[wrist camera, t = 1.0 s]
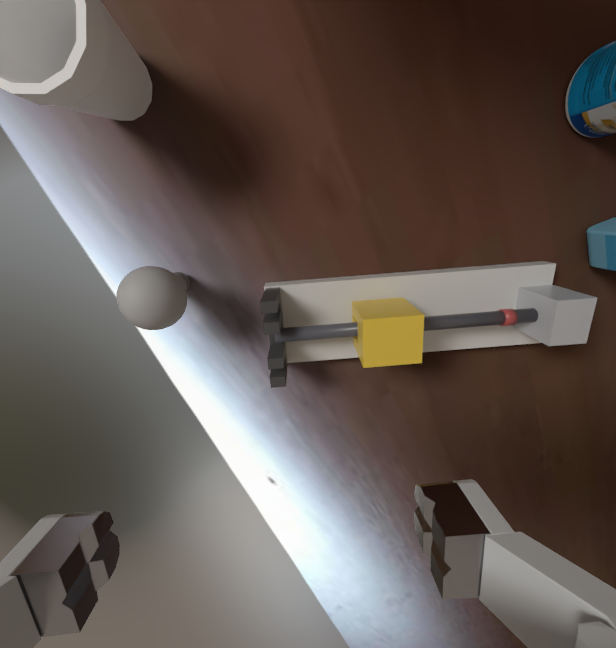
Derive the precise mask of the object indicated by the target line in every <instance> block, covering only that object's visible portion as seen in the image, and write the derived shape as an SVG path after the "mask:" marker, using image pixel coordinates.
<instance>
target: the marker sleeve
mask: <svg viewBox="0 0 616 648" xmlns="http://www.w3.org/2000/svg"><path fill="white" fill-rule="evenodd" d="M352 322H357V326H358V336H355V337H353V344H354V347H355V349H356V351H357V354H358V356H359V358H360V361H361V363H362V366H363V368H367V367H380V366H392V365H405V364H417V363H422V353H423V334H424V314H423V313H422V312H420V311H419V310H418V309H417V308H416V307H414V306H413V305H412V304H411V303H409V302H408V301H407V300H406V299H404V298H403V297H402V298H389V299H377V300H364V301H352Z"/></svg>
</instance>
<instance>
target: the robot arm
mask: <svg viewBox="0 0 616 648" xmlns="http://www.w3.org/2000/svg"><path fill="white" fill-rule="evenodd" d="M415 499H416V501H417V503H418V507H417V508H416V510H415V511H414V515H415V527H416V533H417V536H418V540H419V543H420V546H421V548H422V551H423V553H424V554H426V555H427V556H428V557H429V558H430V559H431V567H430V570H431V573H432V575H433V578H434V580H435V583H436V585H437V587H438V590H439V592H440V595H441V597H442V599H459V598H477V597H480V598H479V600H480V601H481V602H482V603H483V604H484V605H485V606H486V607H487V608H488V609H489V610H490V611H491V612H492V613H493V614H495V615H496V616H497V617H498V618H499V619H500V620H501V621H502V622H503V623H504V624H505V625H506V626H507V627H508V628H509V629H510V630H511V631H512V632H513V633H514V634H515V635H516V636H517V637H518V638H519V639H520V640H521V641H522V642H523V643H524V644H525V645H526V646H527V647H528V648H616V589H614V588H613V587H611V586H609V585H608V584H606V583H604V582H603V581H601V580H600V579H598V578H596V577H595V576H593V575H591V574H590V573H588V572H586V571H585V570H583V569H581V568H580V567H578V566H576V565H575V564H573V563H572V562H570V561H568V560H567V559H565V558H563V557H562V556H560V555H558V554H557V553H555V552H553V551H552V550H550V549H548V548H547V547H545V546H544V545H542V544H540V543H539V542H537V541H535V540H534V539H532V538H530V537H529V536H527V535H525V534H524V533H522V532H514V531H513V529H512V528H511V527H510V525H509V524H508V523H507V521H506V520H505V519H504V517H503V516H502V515H501V513H500V512H499V511H498V510H497V508H496V507H495V506H494V504H493V503H492V502H491V500H490V499H489V498H488V496H487V495H486V494H485V492H484V491H483V490H482V489H481V487H480V486H479V485H478V483H477V482H476V481H474V480H473V479H469V480H459V481H453V482H452V481H451V482H441V483H430V484H419V485H416V488H415ZM112 525H113V520H112V517H111V514H110V513H109V512H105V511H103V512H87V513H86V512H85V513H68V514H59V515H48V516H46V517H44V518H42V519H40V521H39V522H38V523H37V524H36V525H35V526H34V527H33V528H32V529H31V530H30V531H29V532H28V533H27V534H26V536H25V537H24V538H23V539H22V540H21V541H20V542H19V543H18V544H17V545H16V546H15V547H14V548H13V549H12V551H11V552H10V553H9V554H8V555H7V556H6V557H5V558H4V559H3V560H2V562H0V648H33V647H34V646H35V645H36V644H37V643H38V642H39V641H40V640H41V637H45V636H53V635H61V634H69V633H77V632H80V631H81V629H82V627H83V626H84V624H85V622H86V620H87V619H88V617H89V615H90V613H91V612H92V610H93V608H94V606H95V604H96V603H97V601H98V594H97V590H98V589H99V588H100V587H102V586H103V585H104V584H105V583H106V582H107V581H108V580H109V579H110V577H111V575H112V573H113V572H114V570H115V568H116V564H117V561H118V557H119V541H118V537H117V536H116V535H115V534H114V533H112V532H111V531H110V528H111V526H112Z"/></svg>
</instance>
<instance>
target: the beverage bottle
mask: <svg viewBox="0 0 616 648" xmlns="http://www.w3.org/2000/svg"><path fill="white" fill-rule="evenodd" d="M565 111H566V116H567V119H568V122H569V124H570V125H571V127H572V128H573V129H574V130H575V131H576V132H578V133H579V134H581V135H583V136H586V137H592V138H597V137H604V136H608V135H612V134H615V133H616V41H613V42H611V43H609V44H607V45H605V46H603V47H601V48H600V49H598V50H596V51H595V52H594V53H592V54H591V55H590V56H589V57H588V58H586V59H585V60H584V62H583V63H582V64H581V65H580V66H579V68H578V69H577V70H576V72H575V74H574V75H573V77H572V79H571V81H570V84H569V86H568V89H567V93H566V99H565Z"/></svg>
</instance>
